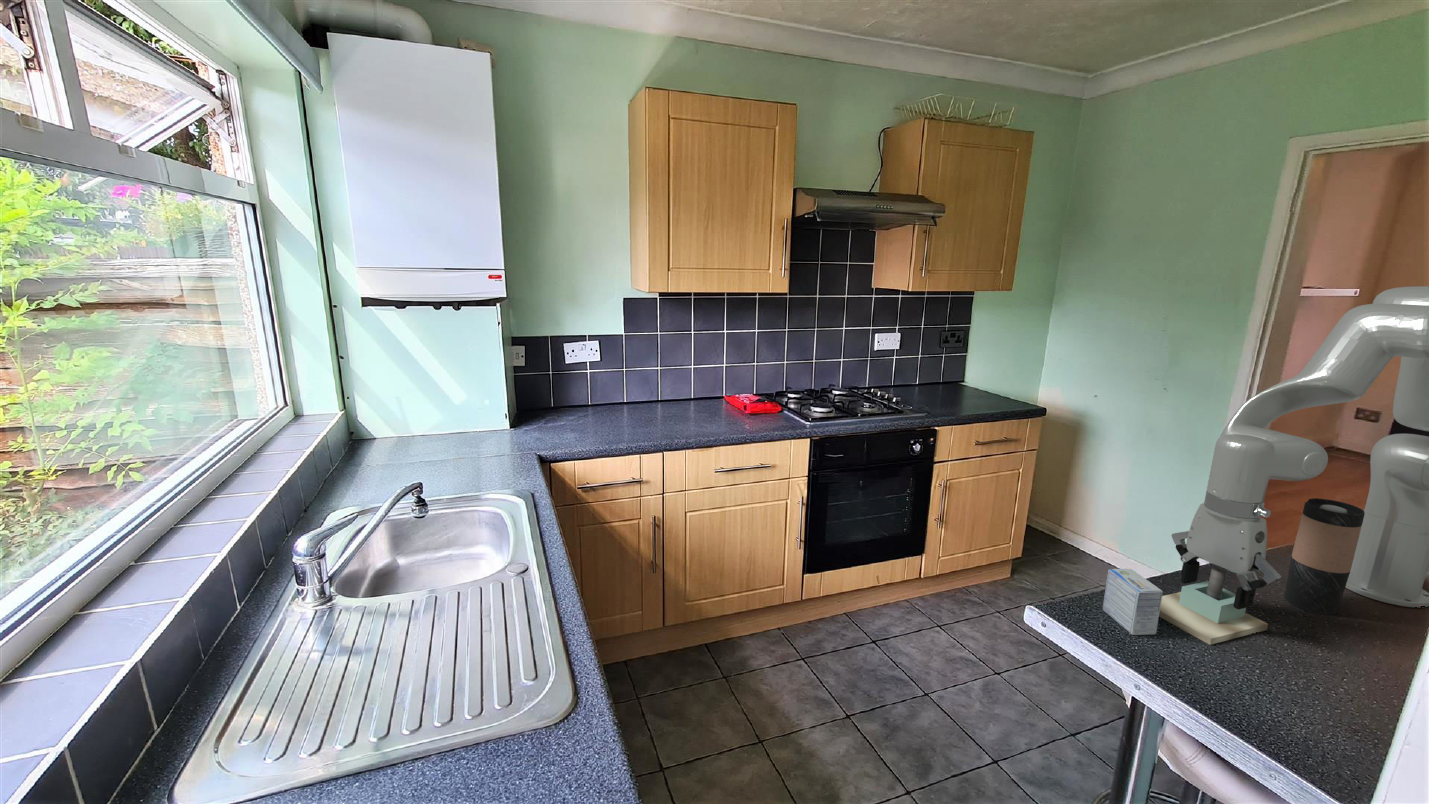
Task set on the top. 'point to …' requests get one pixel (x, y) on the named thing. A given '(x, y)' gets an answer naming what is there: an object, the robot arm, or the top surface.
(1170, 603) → the board
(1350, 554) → the travel mug
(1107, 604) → the medicine box
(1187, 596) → the ring
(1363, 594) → the robot arm
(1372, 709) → the top surface
